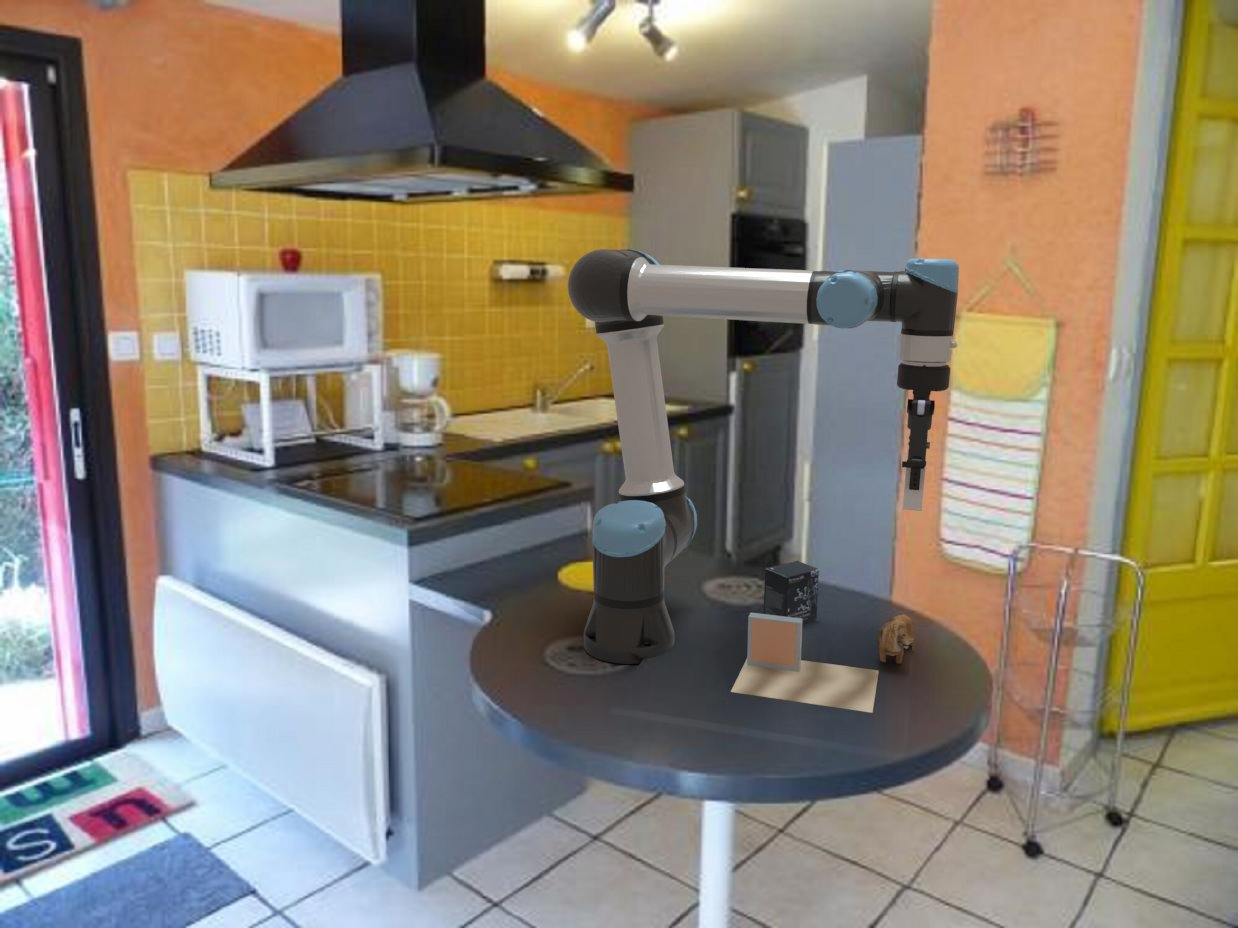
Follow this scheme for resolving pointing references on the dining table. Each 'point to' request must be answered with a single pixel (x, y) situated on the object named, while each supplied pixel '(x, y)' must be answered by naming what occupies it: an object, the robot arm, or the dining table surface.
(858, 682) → the board
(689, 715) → the dining table surface
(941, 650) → the dining table surface
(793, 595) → the box
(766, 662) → the block
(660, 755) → the dining table surface
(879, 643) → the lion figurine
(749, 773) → the dining table surface
